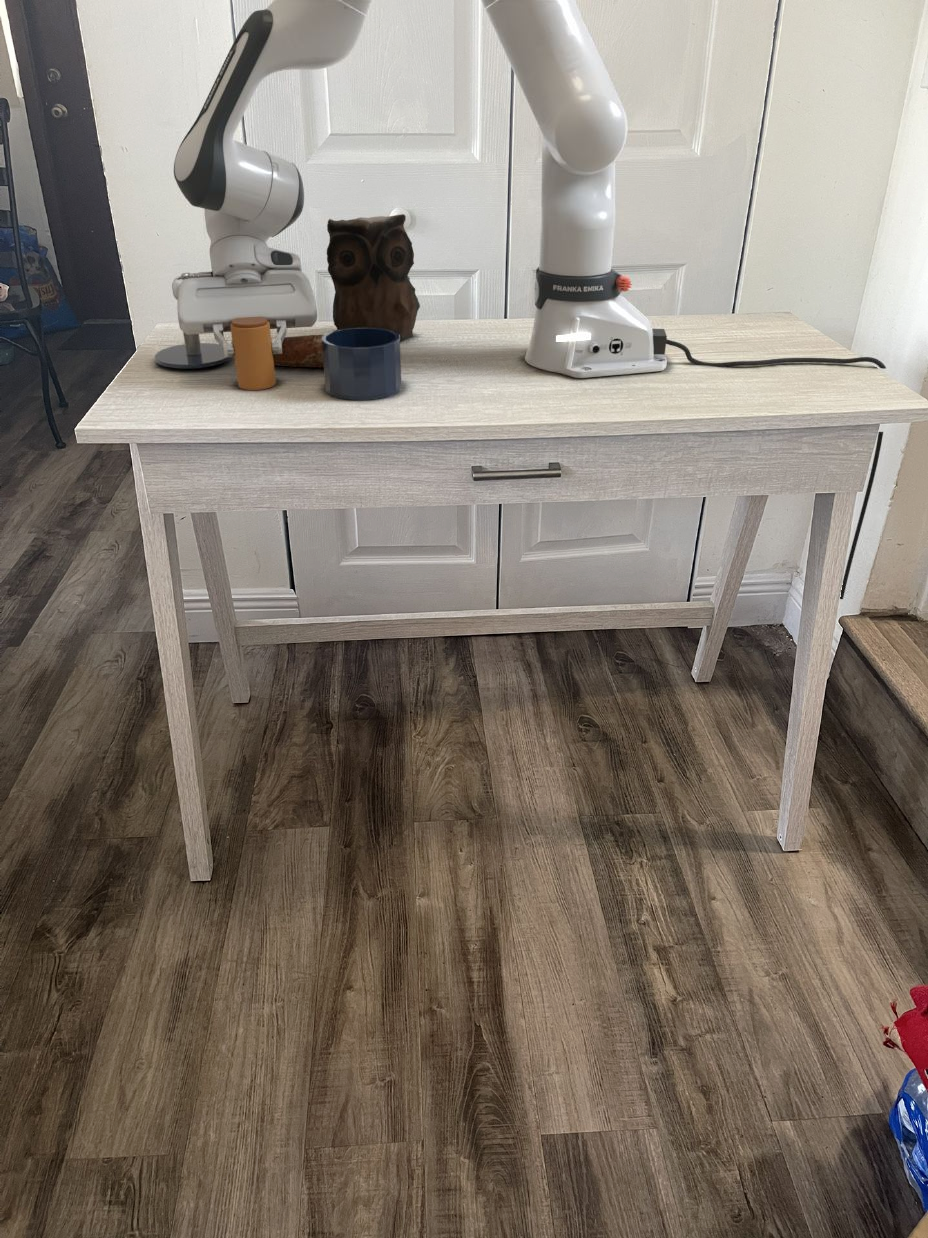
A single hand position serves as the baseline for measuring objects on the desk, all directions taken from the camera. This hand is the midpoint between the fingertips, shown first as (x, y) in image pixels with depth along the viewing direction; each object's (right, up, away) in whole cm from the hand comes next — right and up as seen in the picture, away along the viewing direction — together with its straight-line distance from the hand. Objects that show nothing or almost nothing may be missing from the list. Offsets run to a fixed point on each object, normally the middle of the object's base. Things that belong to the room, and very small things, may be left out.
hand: (253, 353), depth 139 cm
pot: (+16, -5, +2) cm, 17 cm away
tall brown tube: (0, -4, +3) cm, 5 cm away
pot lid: (-12, +3, +13) cm, 18 cm away
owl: (+15, +10, +26) cm, 32 cm away
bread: (+6, +1, +10) cm, 12 cm away
